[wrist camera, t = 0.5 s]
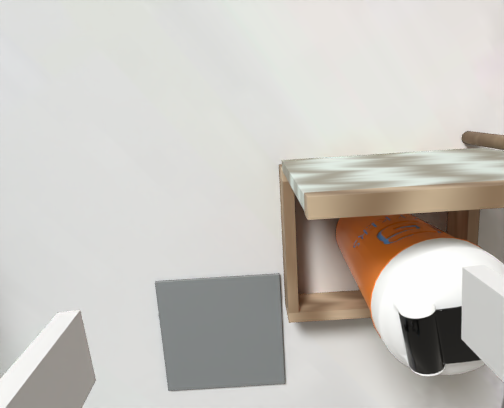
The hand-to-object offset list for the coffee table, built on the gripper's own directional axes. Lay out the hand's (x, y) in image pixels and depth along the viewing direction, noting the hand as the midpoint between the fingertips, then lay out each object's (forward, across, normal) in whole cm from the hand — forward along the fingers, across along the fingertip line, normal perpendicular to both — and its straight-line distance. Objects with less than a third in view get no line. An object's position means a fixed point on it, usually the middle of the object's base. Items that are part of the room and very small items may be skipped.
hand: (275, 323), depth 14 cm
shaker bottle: (+28, +12, -7) cm, 31 cm away
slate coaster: (+28, -5, -16) cm, 33 cm away
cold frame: (+28, +12, -6) cm, 31 cm away
